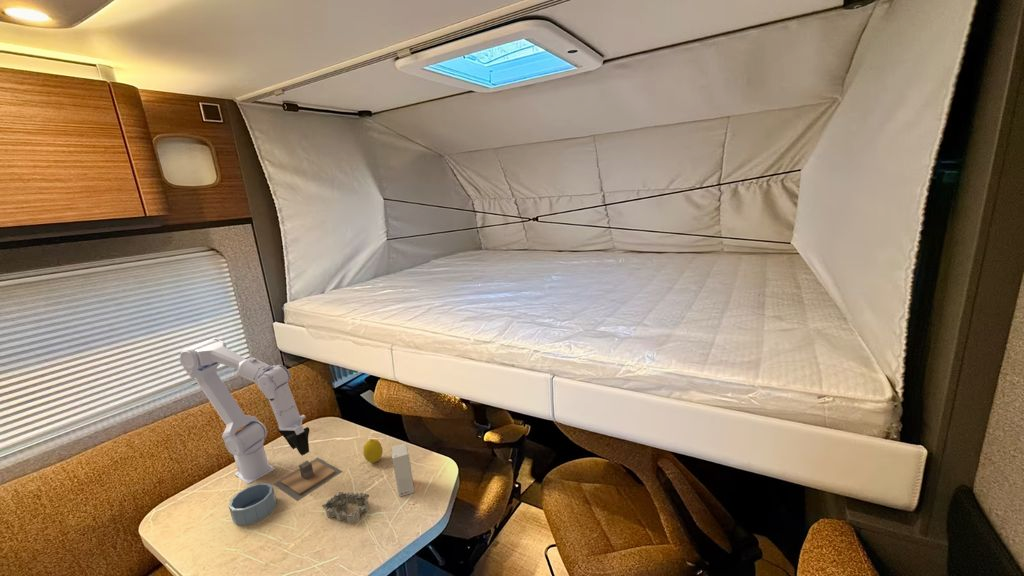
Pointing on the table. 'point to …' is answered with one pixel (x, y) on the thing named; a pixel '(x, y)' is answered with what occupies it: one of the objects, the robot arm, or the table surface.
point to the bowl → (252, 504)
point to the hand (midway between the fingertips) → (300, 450)
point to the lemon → (372, 450)
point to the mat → (298, 497)
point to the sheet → (309, 482)
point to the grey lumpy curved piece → (342, 506)
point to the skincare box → (402, 469)
